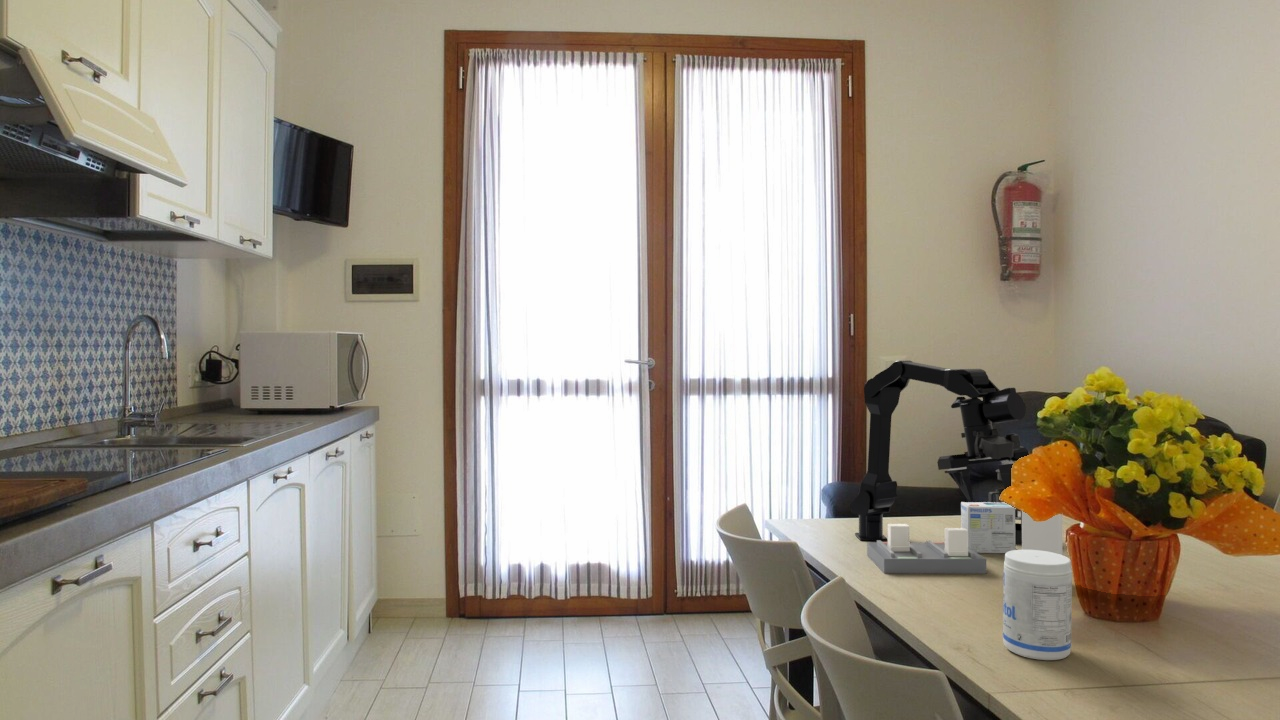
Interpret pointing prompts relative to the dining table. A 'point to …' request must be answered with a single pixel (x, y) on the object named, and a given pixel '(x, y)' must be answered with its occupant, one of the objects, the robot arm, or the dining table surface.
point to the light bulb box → (989, 526)
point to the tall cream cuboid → (956, 541)
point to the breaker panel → (924, 559)
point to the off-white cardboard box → (1042, 534)
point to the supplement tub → (1037, 604)
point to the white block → (898, 537)
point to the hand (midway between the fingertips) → (990, 499)
